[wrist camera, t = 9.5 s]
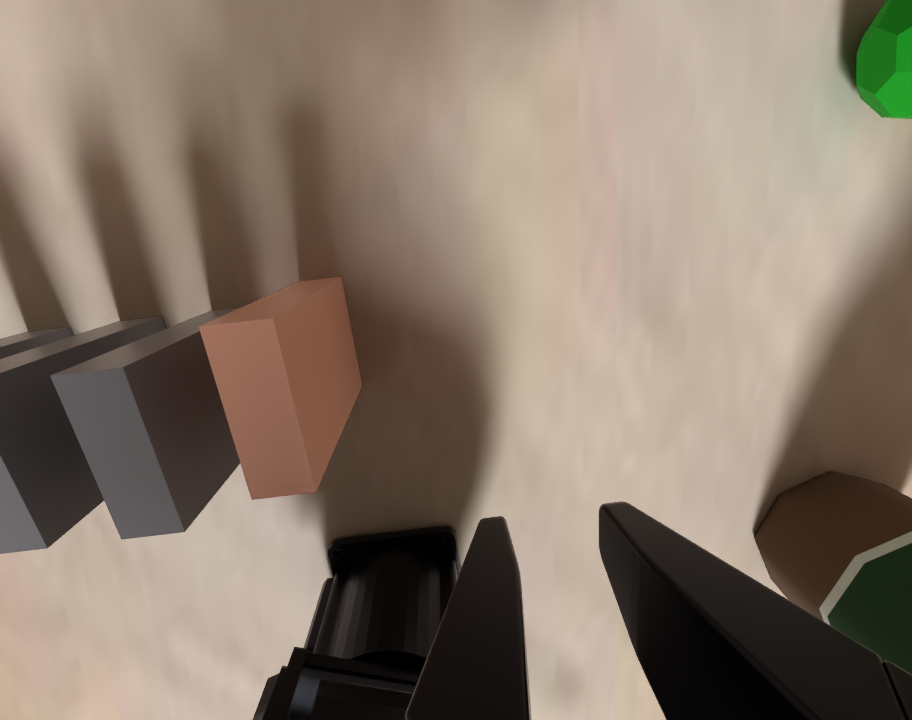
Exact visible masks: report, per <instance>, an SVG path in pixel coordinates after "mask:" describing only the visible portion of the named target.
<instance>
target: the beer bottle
mask: <svg viewBox="0 0 912 720" xmlns="http://www.w3.org/2000/svg"><path fill="white" fill-rule="evenodd" d="M754 537H755V541H756V544H757V546H758V548H759V551H760V553H761V556H762V558H763V561H764V563H765V566H766V568H767V571H768V573H769V575H770V578H771V579H772V581H773V582H774V583H775V584H776V585H777V587H778V588H779V589H780V590H781V591H782V593H783V594H784V595H785V596H786V597H787V599H788V600H789V601H791V602H792V603H794V604H796V605H797V606H799V607H800V608H802V609H804V610H805V611H807V612H809V613H810V614H812V615H814V616H815V617H817V618H819V619H820V620H822V621H824V622H825V623H827V624H829V625H830V626H832V627H834V628H835V629H837V630H838V631H840V632H842V633H843V634H845V635H847V636H848V637H850V638H852V639H853V640H855V641H857V642H858V643H860V644H862V645H863V646H865V647H867V648H868V649H870V650H872V651H873V652H875V653H876V654H878V655H879V656H880V658H881V660H882V662H883V661H885V660H887V661H890V662H892V663H893V664H895V665H897V666H898V667H900V668H902V669H903V670H905V671H907V672H908V673H910V674H912V499H911V498H909V497H908V496H906V495H904V494H902V493H900V492H898V491H896V490H894V489H892V488H890V487H888V486H886V485H885V484H881V483H877V482H872V481H868V480H864V479H860V478H856V477H852V476H848V475H844V474H840V473H835V472H828V473H825V474H823V475H821V476H819V477H817V478H815V479H812V480H810V481H808V482H806V483H804V484H802V485H800V486H797V487H795V488H793V489H791V490H789V491H787V492H784V493H782V494H780V495H779V496H778V497H777V499H776V501H775V502H774V504H773V506H772V508H771V509H770V511H769V513H768V514H767V516H766V518H765V519H764V521H763V523H762V524H761V526H760V528H759V530H758V531H757V533H756V535H755V536H754Z"/></svg>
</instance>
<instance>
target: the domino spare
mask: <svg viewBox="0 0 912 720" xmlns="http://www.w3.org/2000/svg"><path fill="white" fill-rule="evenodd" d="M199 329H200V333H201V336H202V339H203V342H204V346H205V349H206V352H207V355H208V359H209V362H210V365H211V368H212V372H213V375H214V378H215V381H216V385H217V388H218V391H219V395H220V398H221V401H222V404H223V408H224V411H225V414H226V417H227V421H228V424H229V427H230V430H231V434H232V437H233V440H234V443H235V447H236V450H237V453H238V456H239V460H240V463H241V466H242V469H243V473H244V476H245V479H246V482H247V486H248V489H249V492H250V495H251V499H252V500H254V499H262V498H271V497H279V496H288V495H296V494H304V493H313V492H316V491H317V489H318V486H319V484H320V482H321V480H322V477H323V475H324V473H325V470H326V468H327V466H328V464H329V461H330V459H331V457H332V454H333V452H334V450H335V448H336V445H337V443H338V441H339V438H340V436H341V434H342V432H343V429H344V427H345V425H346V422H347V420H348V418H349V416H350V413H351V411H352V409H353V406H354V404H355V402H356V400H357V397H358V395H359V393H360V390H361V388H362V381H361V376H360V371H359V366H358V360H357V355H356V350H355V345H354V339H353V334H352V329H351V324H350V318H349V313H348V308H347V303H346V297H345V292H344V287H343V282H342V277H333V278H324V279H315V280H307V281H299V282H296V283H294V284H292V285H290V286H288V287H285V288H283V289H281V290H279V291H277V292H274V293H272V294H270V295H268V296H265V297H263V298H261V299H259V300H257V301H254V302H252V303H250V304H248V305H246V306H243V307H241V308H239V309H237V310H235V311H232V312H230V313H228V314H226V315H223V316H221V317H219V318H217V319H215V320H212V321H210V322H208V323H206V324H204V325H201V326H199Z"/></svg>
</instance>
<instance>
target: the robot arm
mask: <svg viewBox="0 0 912 720" xmlns="http://www.w3.org/2000/svg"><path fill="white" fill-rule="evenodd" d="M443 536H449V538H443ZM336 549H341V550H342V551H337V550H336ZM599 549H600V554H601V558H602V561H603V564H604V567H605V569H606V572H607V575H608V578H609V580H610V583H611V586H612V589H613V592H614V594H615V597H616V600H617V603H618V606H619V608H620V611H621V614H622V617H623V620H624V622H625V625H626V628H627V631H628V634H629V636H630V639H631V642H632V644H633V647H634V650H635V652H636V655H637V657H638V660H639V662H640V664H641V666H642V669H643V671H644V673H645V675H646V677H647V679H648V682H649V684H650V686H651V688H652V690H653V692H654V694H655V696H656V699H657V701H658V703H659V705H660V707H661V709H662V711H663V713H664V715H665V718H666V720H912V674H910V673H908V672H907V671H905V670H903V669H902V668H900V667H898V666H897V665H895V664H893V663H892V662H890V661H887V660H885V661H883V662H882V660H881V658H880V656H879V655H878V654H876V653H875V652H873V651H872V650H870V649H868V648H867V647H865V646H863V645H862V644H860V643H858V642H857V641H855V640H853V639H852V638H850V637H848V636H847V635H845V634H843V633H842V632H840V631H838V630H837V629H835V628H834V627H832V626H830V625H829V624H827V623H825V622H824V621H822V620H820V619H819V618H817V617H815V616H814V615H812V614H810V613H809V612H807V611H805V610H804V609H802V608H800V607H799V606H797V605H796V604H794V603H792V602H791V601H789V600H787V599H786V598H784V597H782V596H781V595H779V594H777V593H776V592H774V591H772V590H771V589H769V588H767V587H766V586H764V585H762V584H761V583H759V582H758V581H756V580H754V579H753V578H751V577H749V576H748V575H746V574H744V573H743V572H741V571H739V570H738V569H736V568H734V567H733V566H731V565H729V564H728V563H726V562H724V561H723V560H721V559H720V558H718V557H716V556H715V555H713V554H711V553H710V552H708V551H706V550H705V549H703V548H701V547H700V546H698V545H696V544H695V543H693V542H691V541H690V540H688V539H686V538H685V537H683V536H682V535H680V534H678V533H677V532H675V531H673V530H672V529H670V528H668V527H667V526H665V525H663V524H662V523H660V522H658V521H657V520H655V519H653V518H652V517H650V516H648V515H647V514H645V513H644V512H642V511H640V510H639V509H637V508H635V507H634V506H632V505H630V504H629V503H626V502H614V503H606V504H602V505H601V506H600V509H599ZM328 556H329V560H330V564H331V568H332V572H333V576H334V578H327V580H326V581H325V582H324V584H323V587H322V590H321V593H320V597H319V600H318V603H317V606H316V610H315V613H314V616H313V619H312V623H311V626H310V629H309V632H308V636H307V639H306V642H305V645H304V648H299V647H294V650H293V652H292V655H291V658H290V661H289V663H288V666H282V668H281V671H280V673H279V674H277V675H275V676H272V677H270V678H268V680H267V682H266V685H265V688H264V691H263V693H262V696H261V699H260V702H259V704H258V707H257V710H256V712H255V715H254V718H253V720H531V706H530V692H529V679H528V666H527V653H526V640H525V627H524V614H523V601H522V588H521V578H520V571H519V566H518V562H517V559H516V555H515V551H514V548H513V544H512V541H511V537H510V533H509V530H508V526H507V523H506V520H505V518H504V517H502V516H499V517H490V518H483V519H481V520H480V522H479V524H478V526H477V529H476V531H475V534H474V537H473V539H472V542H471V544H470V547H469V550H468V552H467V555H466V557H465V560H464V563H463V565H462V568H461V570H460V566H459V559H458V551H457V544H456V536H455V531H454V530H453V529H452V528H451V527H448V526H443V527H435V528H426V529H418V530H410V531H401V532H393V533H385V534H376V535H368V536H360V537H351V538H343V539H336V540H334V541H332V542H331V544H330V546H329V549H328Z"/></svg>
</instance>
